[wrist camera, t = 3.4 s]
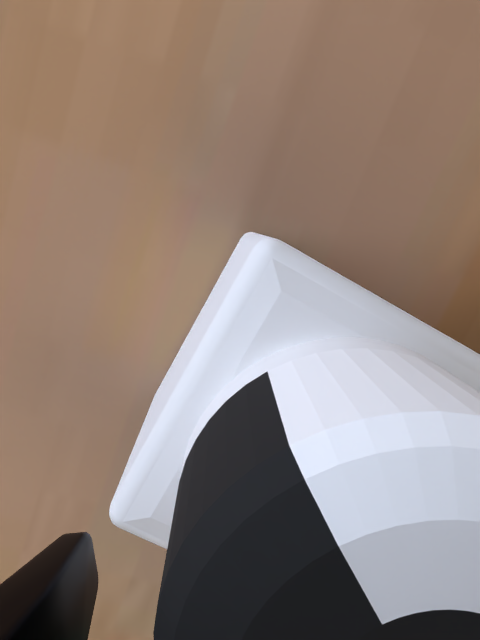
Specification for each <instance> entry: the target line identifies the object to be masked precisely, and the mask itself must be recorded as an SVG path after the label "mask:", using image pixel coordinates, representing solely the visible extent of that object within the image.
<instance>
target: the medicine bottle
mask: <svg viewBox="0 0 480 640" xmlns="http://www.w3.org/2000/svg"><path fill="white" fill-rule="evenodd" d="M109 515H110V519H111V521H112V523H113V524H114V525H116V526H117V527H118V528H121V529H123V530H125V531H127V532H129V533H132V534H134V535H136V536H138V537H141V538H143V539H145V540H147V541H149V542H152V543H154V544H156V545H158V546H161V547H163V548H165V549H167V554H166V560H165V565H164V571H163V577H162V582H161V588H160V594H159V600H158V606H157V613H156V620H155V626H154V640H480V354H478V353H476V352H475V351H473V350H471V349H469V348H468V347H466V346H464V345H462V344H461V343H459V342H457V341H455V340H454V339H452V338H450V337H448V336H447V335H445V334H443V333H441V332H440V331H438V330H436V329H435V328H433V327H431V326H429V325H428V324H426V323H424V322H422V321H421V320H419V319H417V318H415V317H414V316H412V315H410V314H408V313H407V312H405V311H403V310H401V309H400V308H398V307H396V306H394V305H393V304H391V303H389V302H387V301H386V300H384V299H382V298H380V297H379V296H377V295H375V294H373V293H372V292H370V291H368V290H366V289H365V288H363V287H361V286H360V285H358V284H356V283H354V282H353V281H351V280H349V279H347V278H346V277H344V276H342V275H340V274H339V273H337V272H335V271H333V270H332V269H330V268H328V267H326V266H325V265H323V264H321V263H319V262H318V261H316V260H314V259H312V258H311V257H309V256H307V255H305V254H304V253H302V252H300V251H298V250H297V249H295V248H293V247H291V246H290V245H288V244H286V243H284V242H283V241H281V240H279V239H276V238H272V237H268V236H265V235H261V234H258V233H254V232H248V233H245V234H244V235H243V236H242V237H241V239H240V241H239V243H238V245H237V246H236V248H235V250H234V252H233V254H232V255H231V257H230V259H229V261H228V263H227V265H226V266H225V268H224V270H223V272H222V274H221V276H220V277H219V279H218V281H217V283H216V285H215V286H214V288H213V290H212V292H211V294H210V296H209V297H208V299H207V301H206V303H205V305H204V307H203V308H202V310H201V312H200V314H199V316H198V317H197V319H196V321H195V323H194V325H193V327H192V328H191V330H190V332H189V334H188V336H187V337H186V339H185V341H184V343H183V345H182V347H181V348H180V350H179V352H178V354H177V356H176V358H175V359H174V361H173V363H172V365H171V367H170V368H169V370H168V372H167V374H166V376H165V378H164V379H163V381H162V383H161V385H160V387H159V389H158V390H157V392H156V394H155V396H154V399H153V401H152V403H151V406H150V408H149V411H148V413H147V416H146V418H145V421H144V423H143V426H142V428H141V431H140V433H139V436H138V438H137V440H136V443H135V445H134V448H133V450H132V453H131V455H130V458H129V460H128V463H127V465H126V468H125V470H124V473H123V475H122V478H121V480H120V482H119V485H118V487H117V490H116V492H115V495H114V497H113V500H112V502H111V506H110V510H109Z"/></svg>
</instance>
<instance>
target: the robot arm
mask: <svg viewBox="0 0 480 640" xmlns="http://www.w3.org/2000/svg"><path fill="white" fill-rule="evenodd" d="M97 590H98V572H97V566H96V560H95V555H94V549H93V543H92V539H91V537H90V534H88V533H87V532H80V533H69V534H64V535H62V536H61V537H59V538H58V539H57V540H55V541H54V542H53V543H52V544H50V545H49V546H48V547H47V548H45V549H44V550H43V551H42V552H40V553H39V554H38V555H37V556H35V557H34V558H33V559H32V560H30V561H29V562H28V563H27V564H25V565H24V566H23V567H22V568H20V569H19V570H18V571H17V572H15V573H14V574H13V575H12V576H10V577H9V578H8V579H7V580H5V581H4V582H3V583H2V584H0V640H87V639H88V634H89V629H90V625H91V620H92V615H93V610H94V605H95V600H96V595H97Z"/></svg>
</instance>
